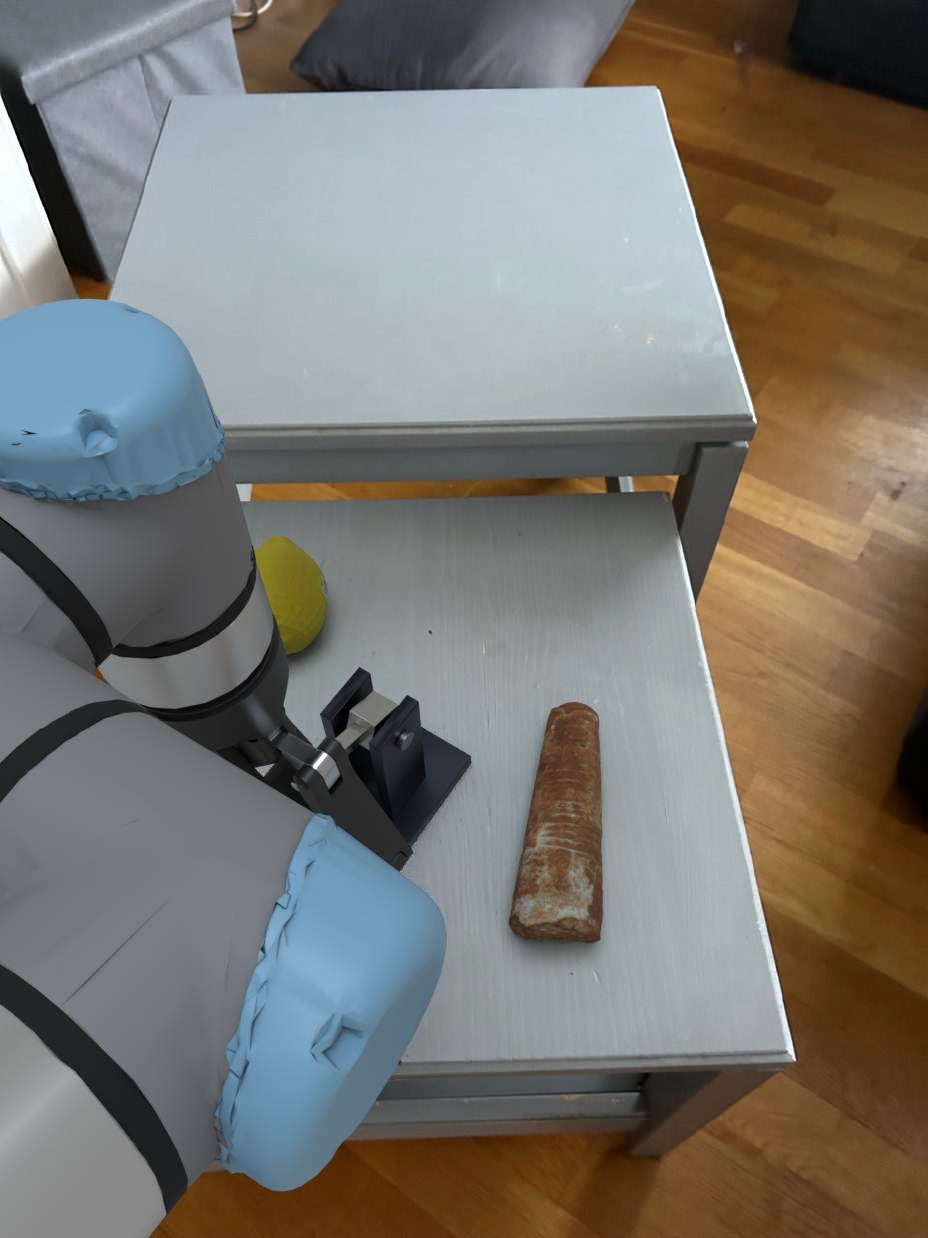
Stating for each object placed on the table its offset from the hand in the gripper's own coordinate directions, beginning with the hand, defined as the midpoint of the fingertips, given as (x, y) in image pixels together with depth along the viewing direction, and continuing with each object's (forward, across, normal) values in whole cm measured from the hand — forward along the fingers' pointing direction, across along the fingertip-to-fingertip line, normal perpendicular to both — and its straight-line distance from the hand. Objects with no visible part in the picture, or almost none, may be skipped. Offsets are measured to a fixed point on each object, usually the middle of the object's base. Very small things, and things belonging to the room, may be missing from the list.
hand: (274, 828), depth 58 cm
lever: (+1, 0, -5) cm, 5 cm away
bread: (+13, -13, -14) cm, 23 cm away
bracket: (+12, 0, -10) cm, 16 cm away
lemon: (+13, +16, -18) cm, 27 cm away
